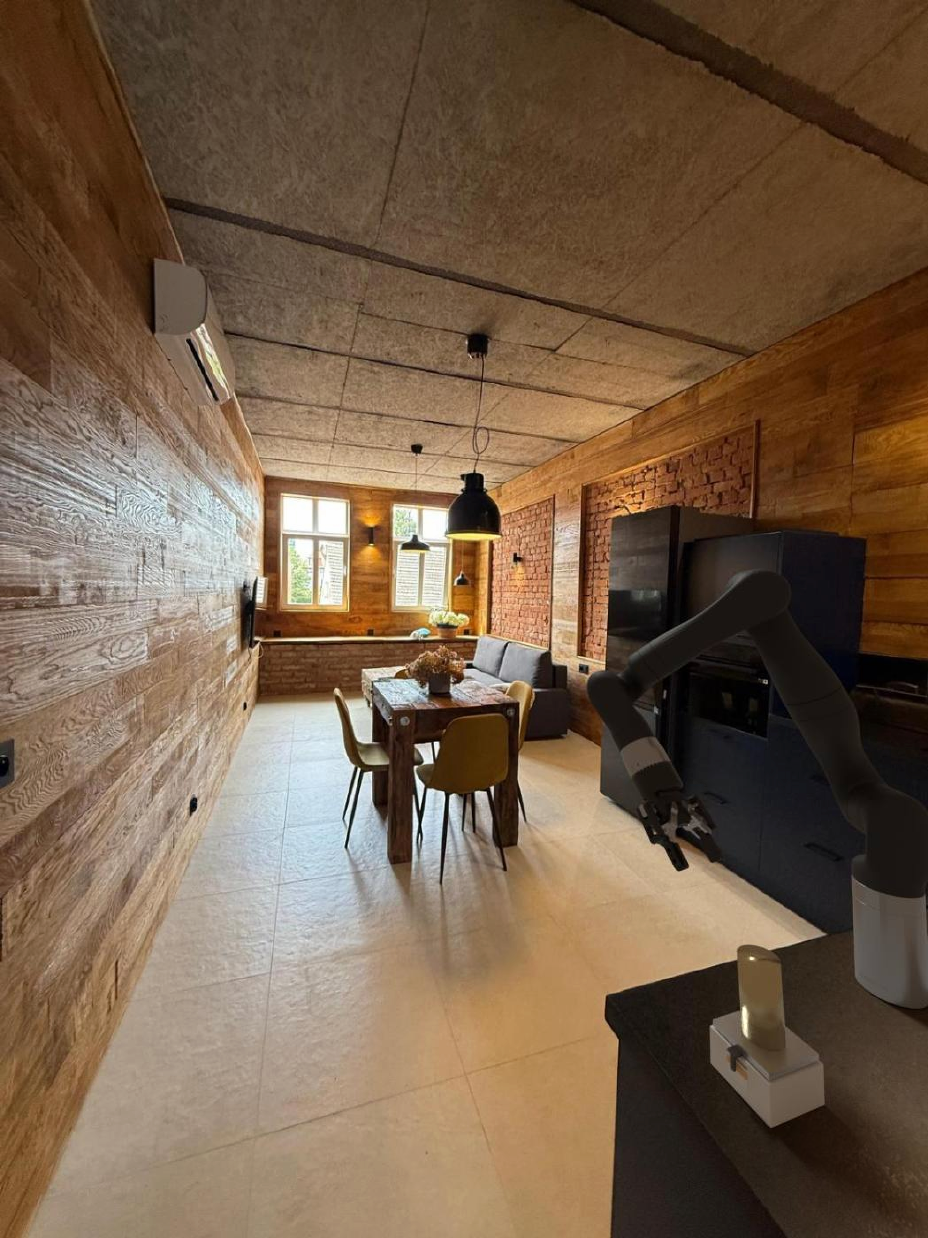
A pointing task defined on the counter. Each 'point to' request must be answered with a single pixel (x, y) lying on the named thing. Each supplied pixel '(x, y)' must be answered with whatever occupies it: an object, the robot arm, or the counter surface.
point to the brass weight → (761, 997)
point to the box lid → (764, 1059)
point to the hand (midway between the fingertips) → (701, 865)
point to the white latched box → (769, 1084)
